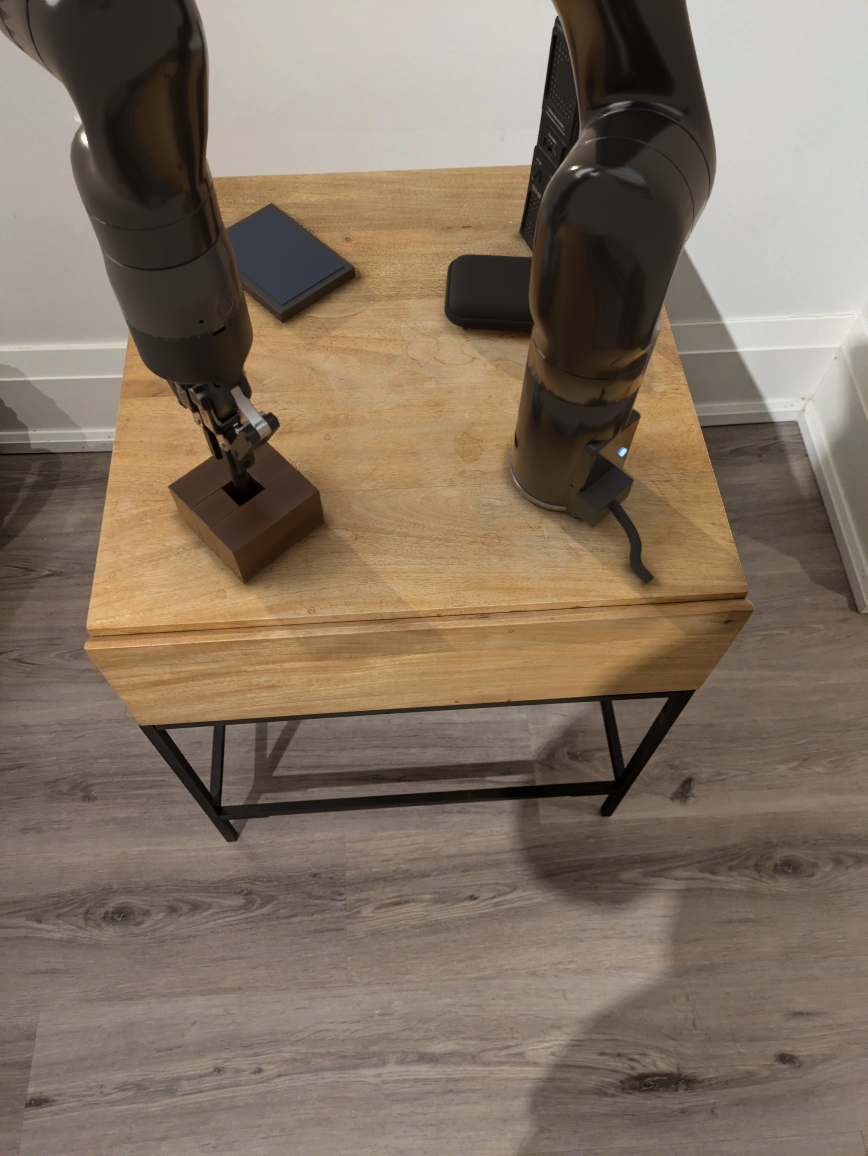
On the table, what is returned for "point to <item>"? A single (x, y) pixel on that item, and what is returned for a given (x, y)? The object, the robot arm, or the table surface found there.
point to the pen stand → (249, 510)
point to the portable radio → (552, 129)
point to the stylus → (242, 486)
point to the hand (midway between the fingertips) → (234, 459)
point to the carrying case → (489, 293)
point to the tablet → (284, 262)
